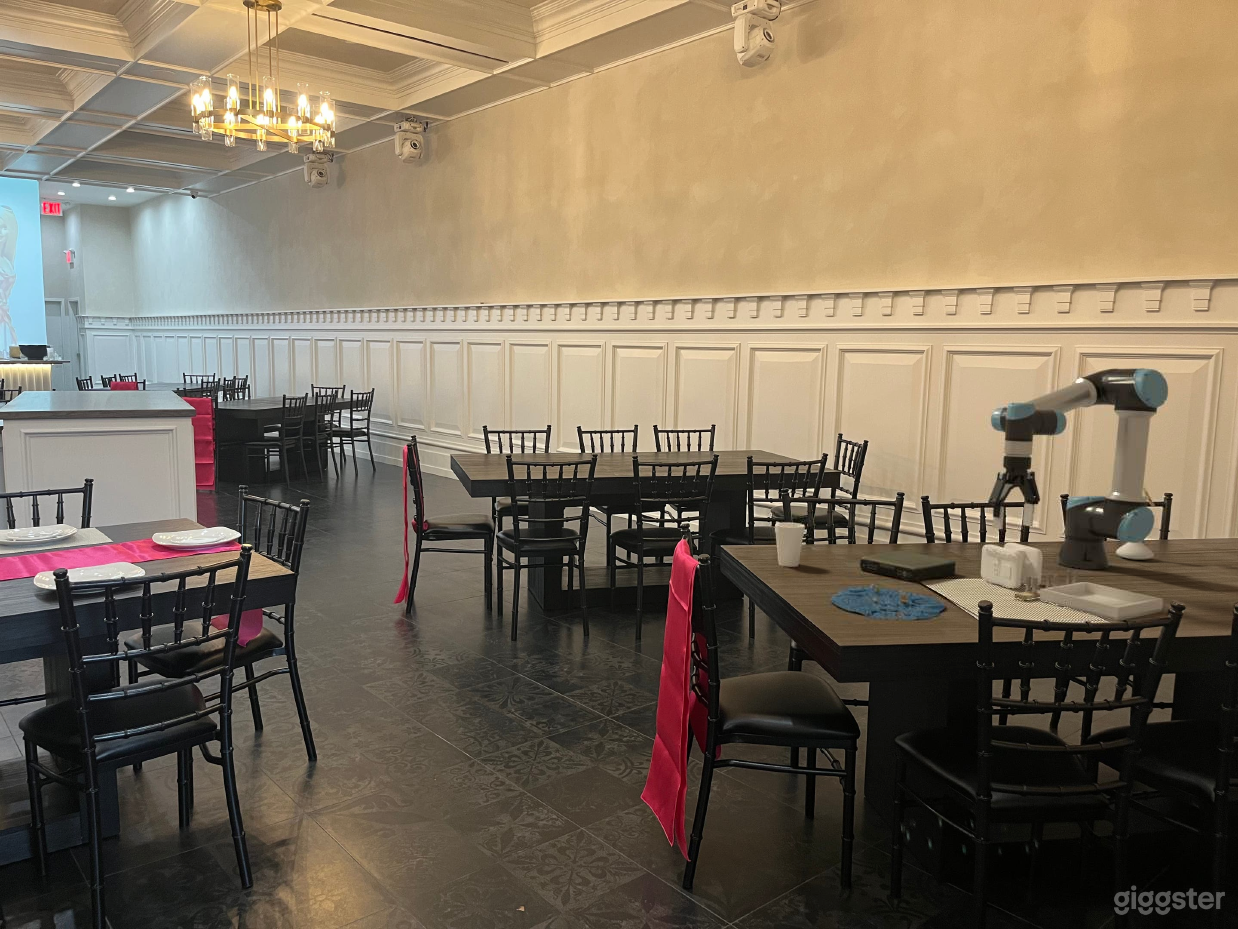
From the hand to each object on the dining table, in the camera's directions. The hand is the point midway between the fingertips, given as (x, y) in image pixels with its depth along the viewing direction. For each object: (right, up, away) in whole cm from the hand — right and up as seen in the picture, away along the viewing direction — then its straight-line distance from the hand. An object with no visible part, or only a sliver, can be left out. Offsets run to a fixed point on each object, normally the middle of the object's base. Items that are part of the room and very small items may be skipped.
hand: (1012, 527), depth 268 cm
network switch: (-26, -16, +17) cm, 35 cm away
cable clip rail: (+7, -19, -10) cm, 22 cm away
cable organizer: (0, -18, +2) cm, 18 cm away
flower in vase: (+62, -14, +45) cm, 78 cm away
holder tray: (+14, -20, -22) cm, 33 cm away
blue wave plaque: (-44, -20, -24) cm, 54 cm away
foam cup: (-61, -14, +27) cm, 68 cm away
